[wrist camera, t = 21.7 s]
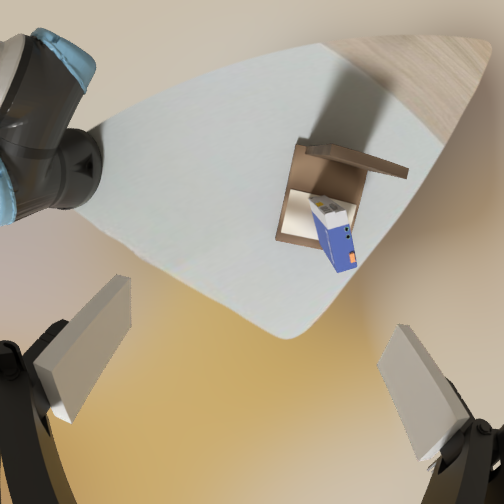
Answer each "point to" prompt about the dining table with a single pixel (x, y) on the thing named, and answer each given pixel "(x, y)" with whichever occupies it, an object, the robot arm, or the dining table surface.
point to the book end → (325, 187)
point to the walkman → (333, 232)
